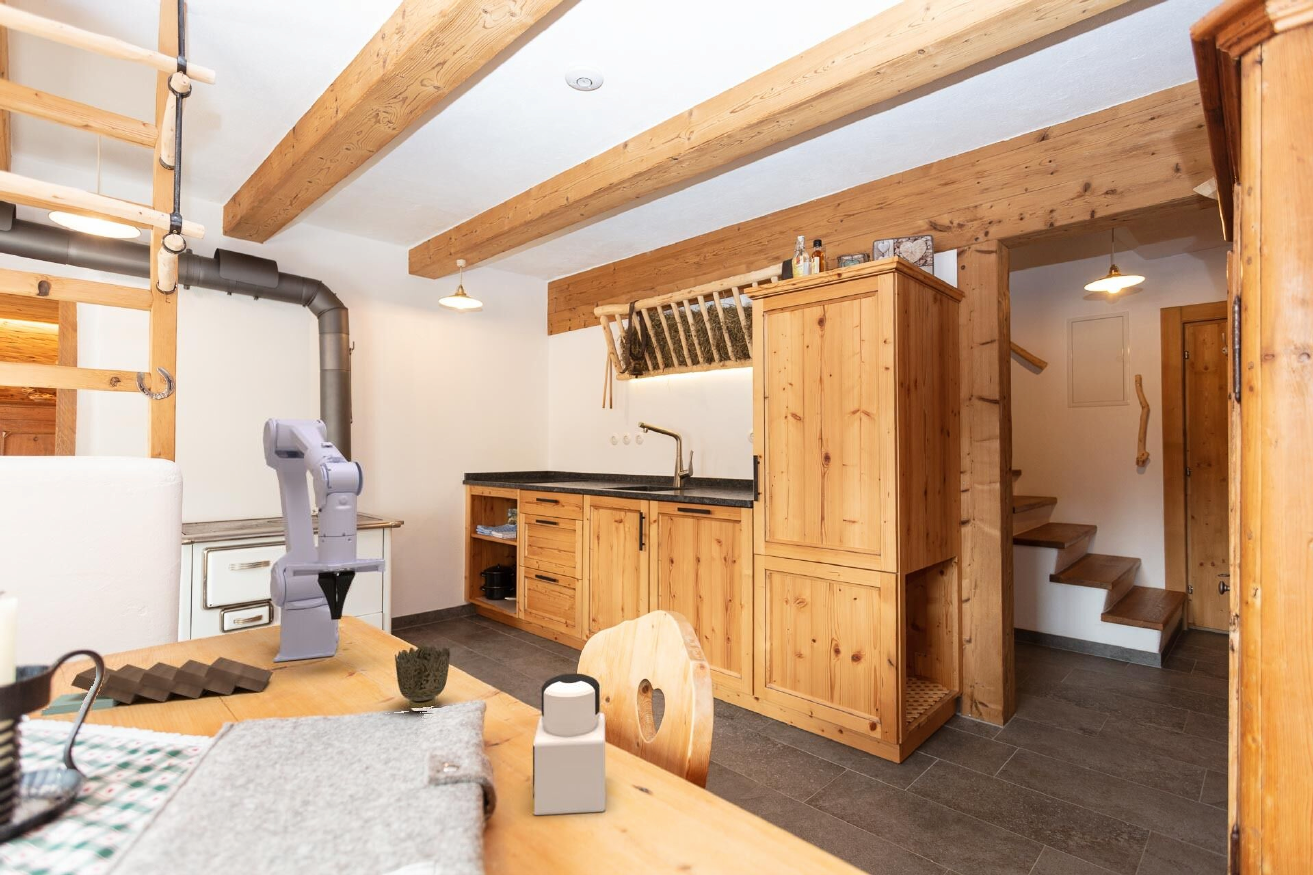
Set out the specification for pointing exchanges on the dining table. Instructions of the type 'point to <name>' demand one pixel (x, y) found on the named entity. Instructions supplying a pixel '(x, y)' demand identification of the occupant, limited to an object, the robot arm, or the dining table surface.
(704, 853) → the dining table surface
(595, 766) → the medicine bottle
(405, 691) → the cup
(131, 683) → the domino
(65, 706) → the domino
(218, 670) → the domino
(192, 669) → the domino
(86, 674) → the domino
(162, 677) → the domino
